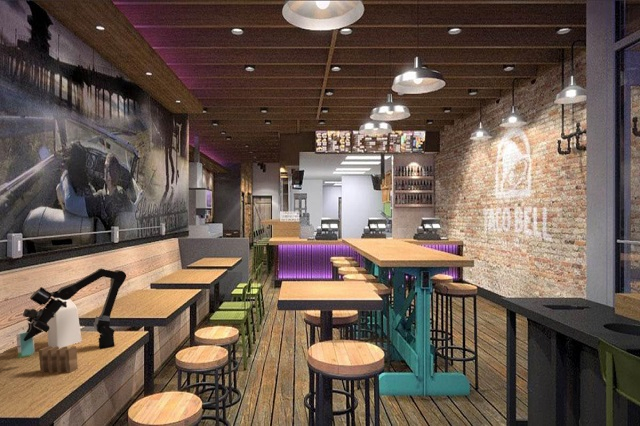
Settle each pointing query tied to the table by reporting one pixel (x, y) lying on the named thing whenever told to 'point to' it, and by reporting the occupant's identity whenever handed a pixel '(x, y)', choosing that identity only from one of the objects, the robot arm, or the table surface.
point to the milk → (64, 326)
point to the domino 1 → (26, 345)
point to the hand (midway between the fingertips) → (23, 340)
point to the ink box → (20, 344)
